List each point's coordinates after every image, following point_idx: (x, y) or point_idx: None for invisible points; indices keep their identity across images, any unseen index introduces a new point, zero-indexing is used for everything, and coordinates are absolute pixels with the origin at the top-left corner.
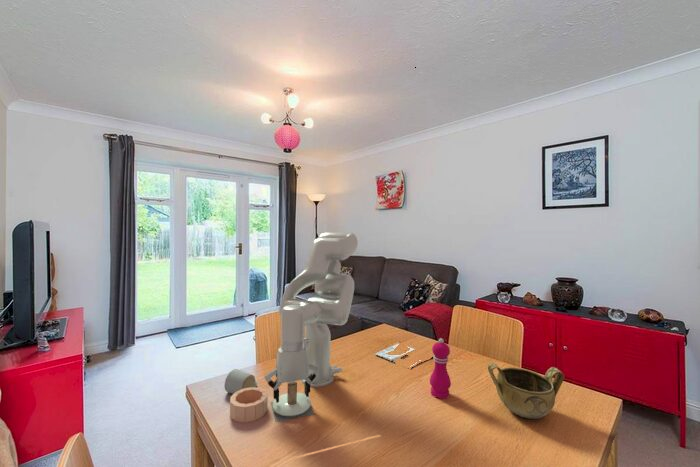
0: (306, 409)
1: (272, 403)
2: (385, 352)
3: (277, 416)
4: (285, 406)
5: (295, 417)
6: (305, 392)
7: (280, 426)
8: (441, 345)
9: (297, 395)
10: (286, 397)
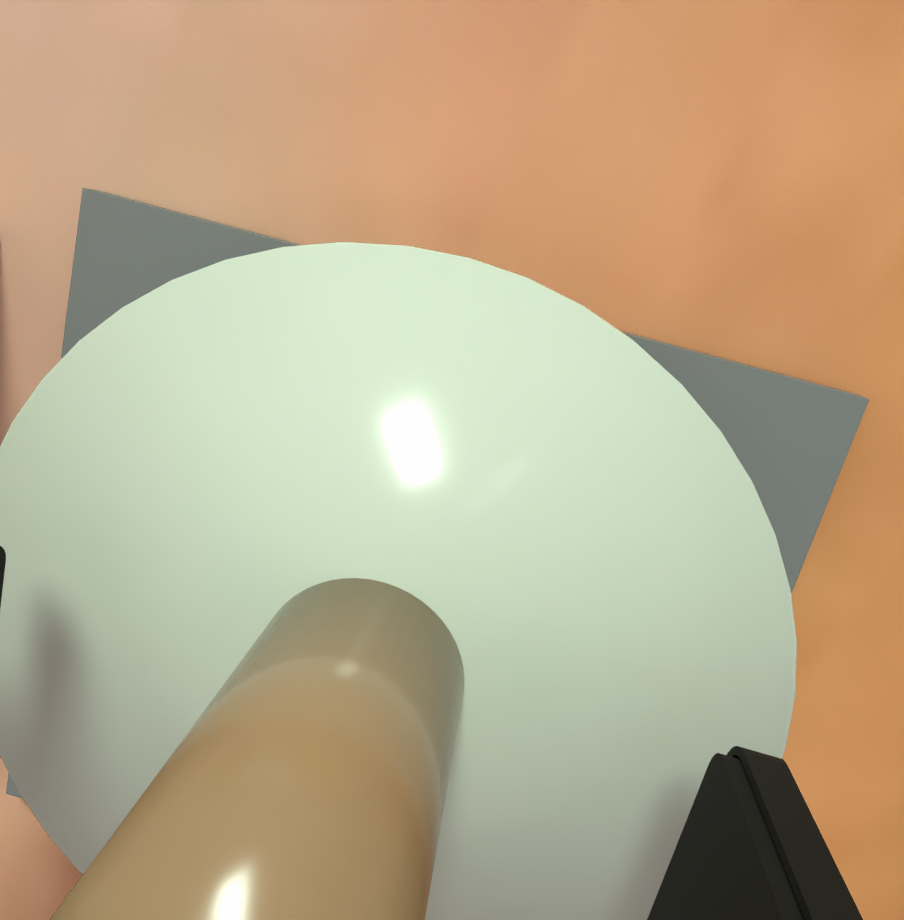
0: None
1: (105, 255)
2: None
3: None
4: (182, 728)
5: None
6: (686, 888)
7: (67, 876)
8: None
9: (599, 504)
10: (330, 433)
